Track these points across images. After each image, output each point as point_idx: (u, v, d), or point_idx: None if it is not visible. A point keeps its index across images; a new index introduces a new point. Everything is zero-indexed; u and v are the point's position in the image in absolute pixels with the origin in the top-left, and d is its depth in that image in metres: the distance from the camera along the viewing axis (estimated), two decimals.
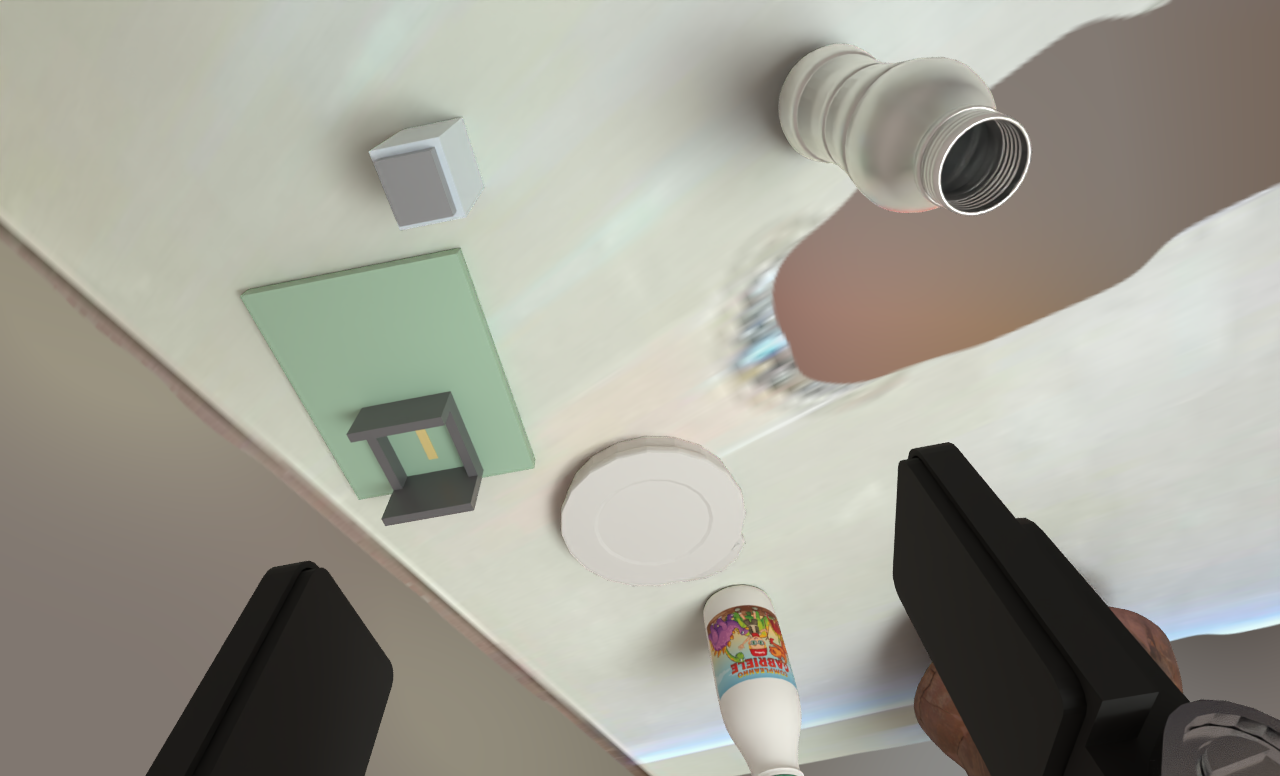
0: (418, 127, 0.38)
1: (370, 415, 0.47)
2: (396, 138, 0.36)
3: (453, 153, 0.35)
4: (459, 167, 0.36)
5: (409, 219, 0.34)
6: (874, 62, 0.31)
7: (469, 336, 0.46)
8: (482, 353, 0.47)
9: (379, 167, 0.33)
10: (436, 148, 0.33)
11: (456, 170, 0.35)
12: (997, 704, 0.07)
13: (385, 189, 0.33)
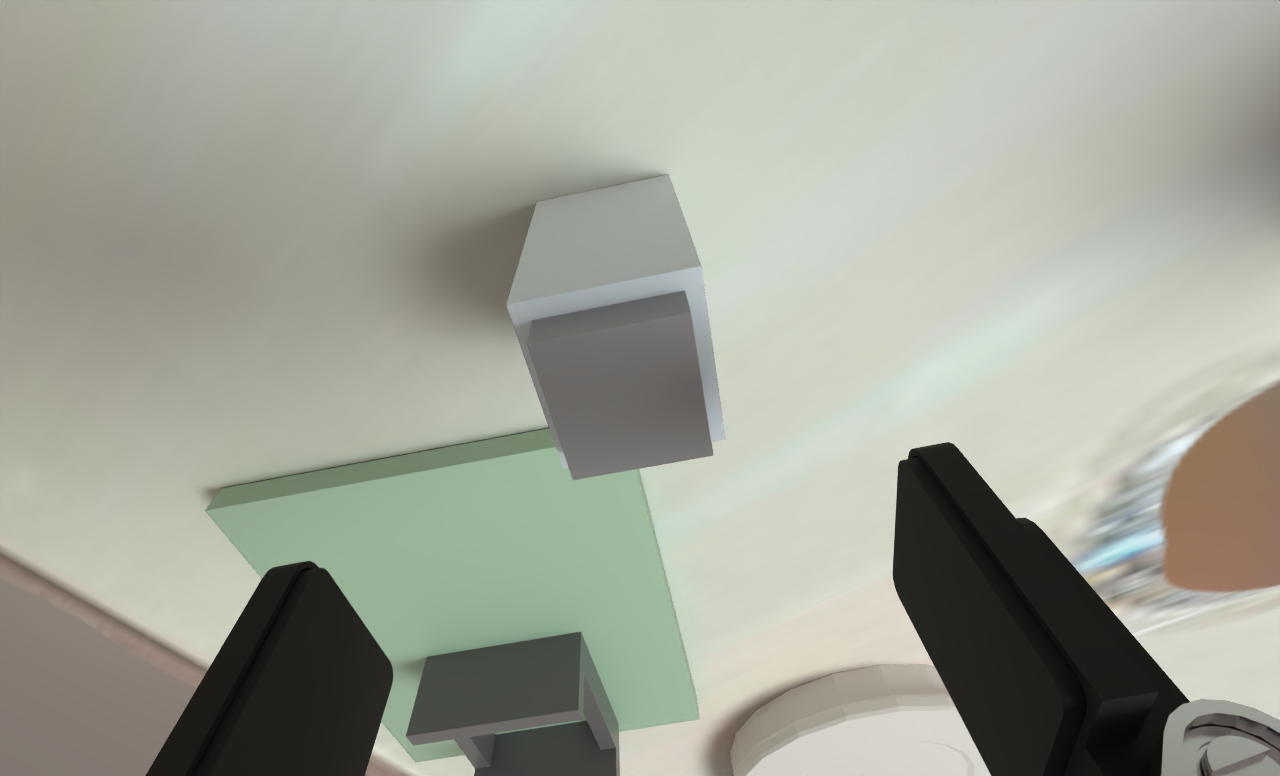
0: (577, 200, 0.17)
1: (444, 683, 0.27)
2: (550, 243, 0.15)
3: None
4: None
5: (601, 465, 0.13)
6: None
7: (627, 558, 0.25)
8: (645, 580, 0.26)
9: (542, 355, 0.12)
10: (689, 294, 0.12)
11: None
12: (998, 704, 0.07)
13: (551, 404, 0.12)
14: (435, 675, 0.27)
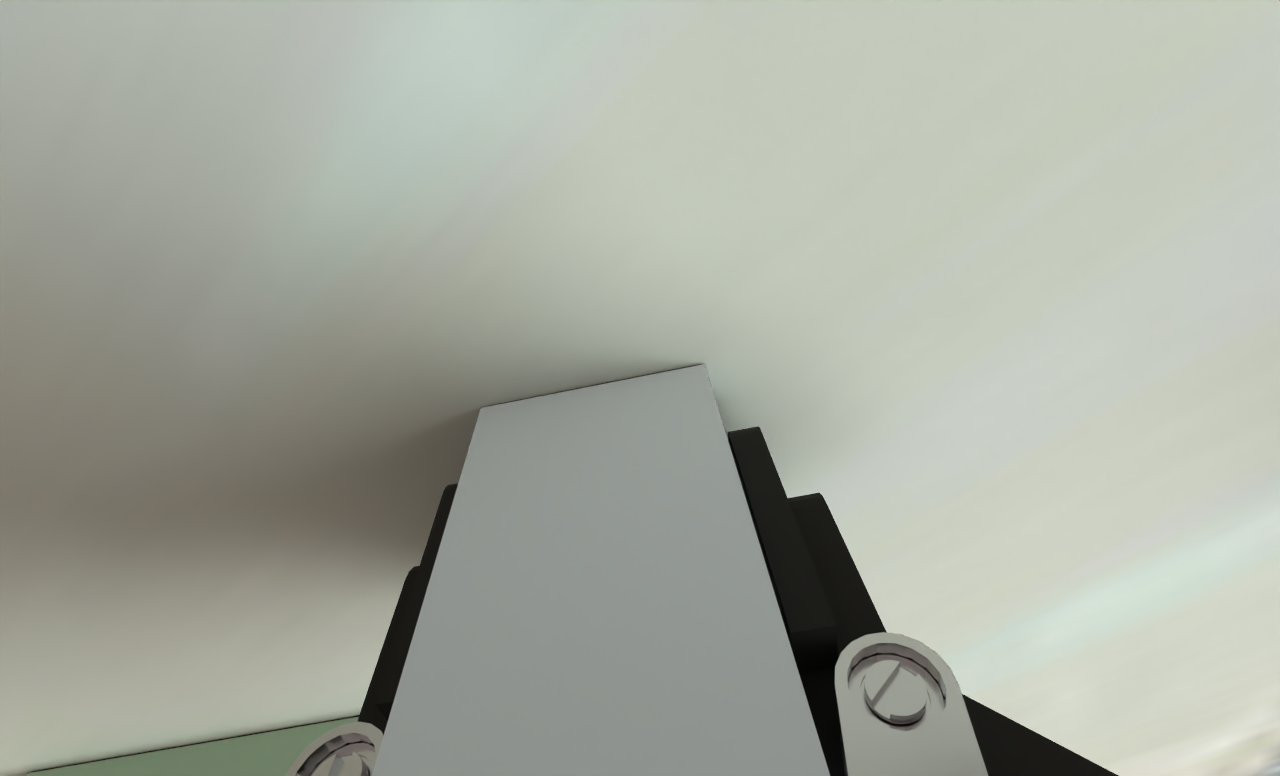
0: (547, 420, 0.10)
1: None
2: (484, 577, 0.07)
3: None
4: None
5: None
6: None
7: None
8: None
9: None
10: None
11: None
12: None
13: None
14: None
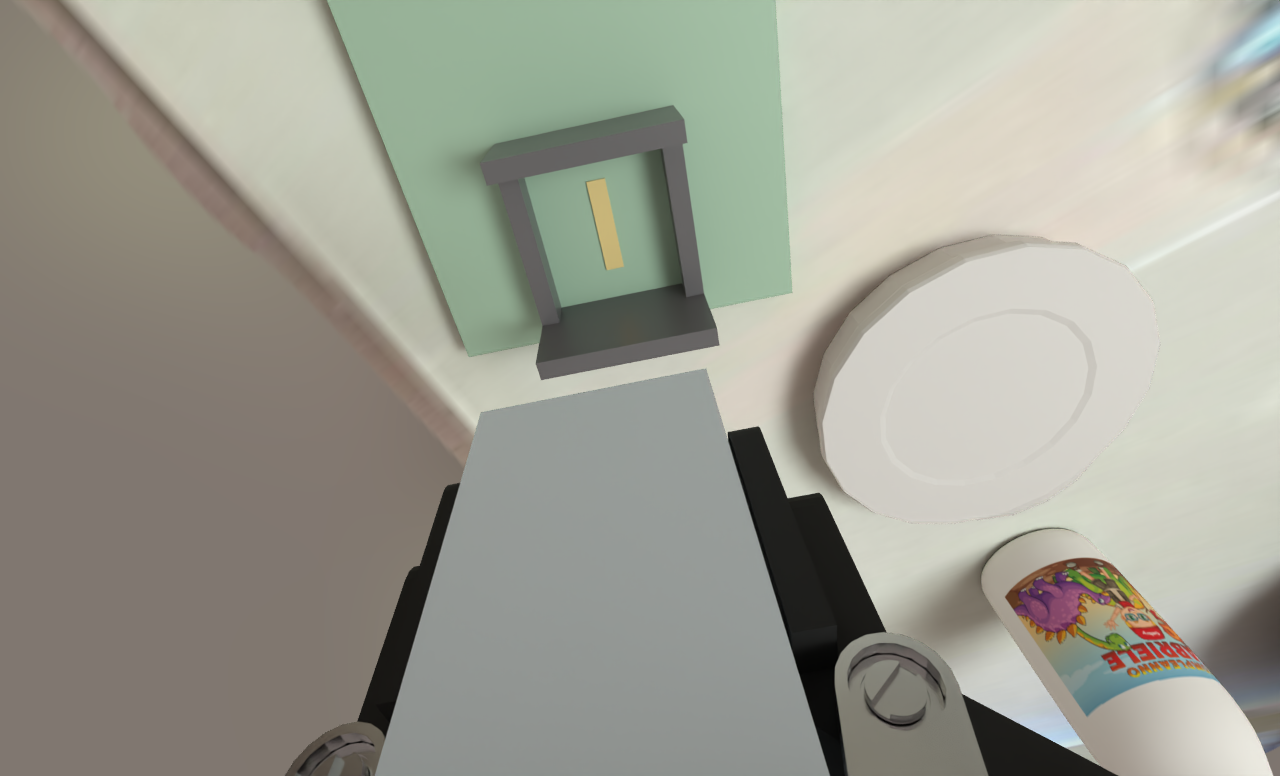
0: (547, 424, 0.10)
1: (519, 144, 0.23)
2: (484, 584, 0.07)
3: None
4: None
5: None
6: None
7: None
8: (754, 4, 0.22)
9: None
10: None
11: None
12: None
13: None
14: (507, 145, 0.24)
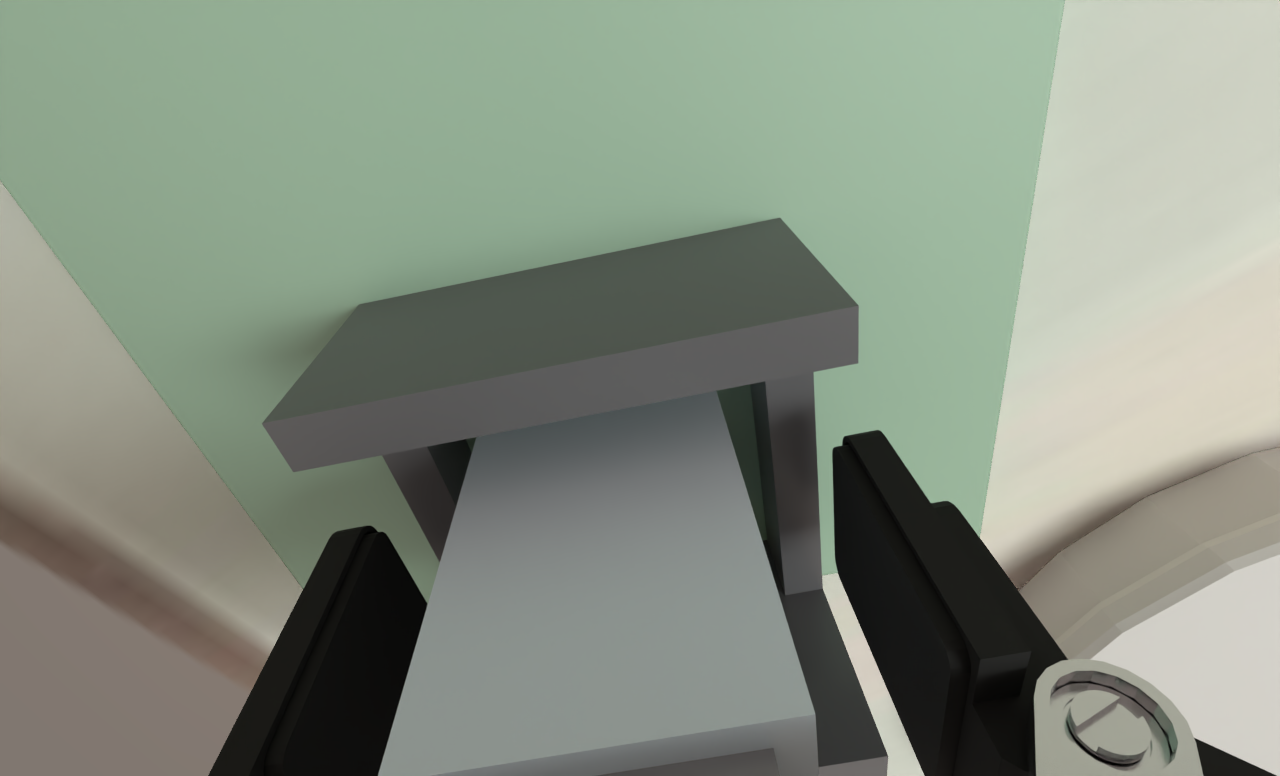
0: None
1: (402, 328, 0.09)
2: (499, 525, 0.08)
3: None
4: None
5: None
6: None
7: None
8: None
9: None
10: (782, 753, 0.06)
11: None
12: (909, 672, 0.08)
13: None
14: (378, 322, 0.10)
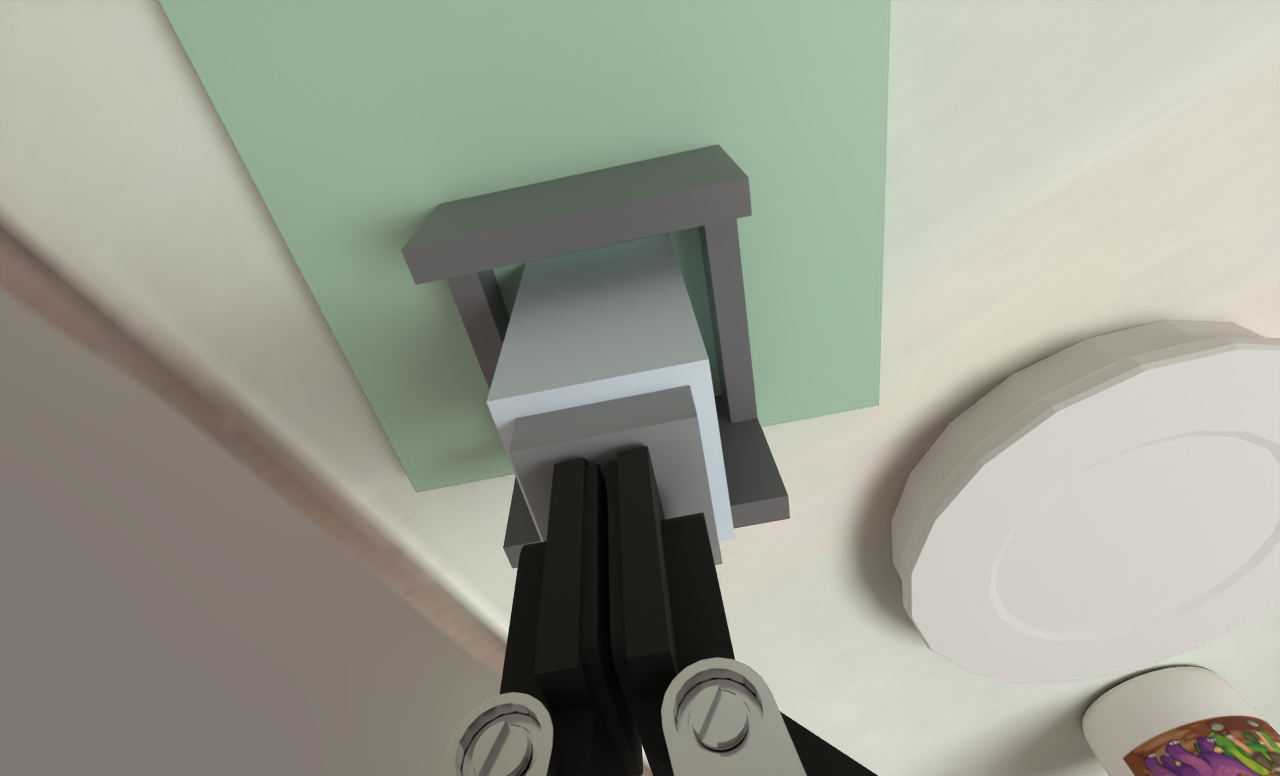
0: (569, 263, 0.16)
1: (473, 210, 0.14)
2: (539, 319, 0.13)
3: None
4: None
5: None
6: None
7: None
8: None
9: (527, 463, 0.10)
10: (694, 389, 0.11)
11: None
12: None
13: (537, 514, 0.11)
14: (456, 209, 0.15)
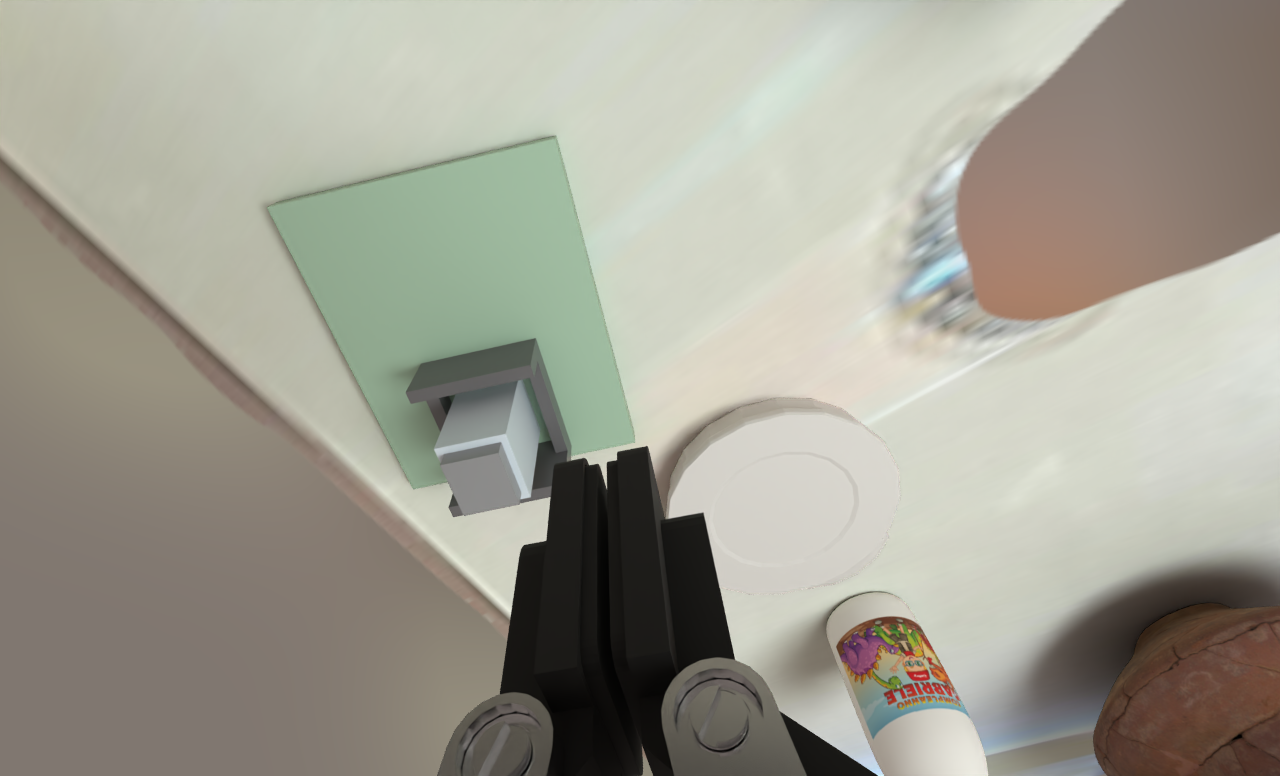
0: None
1: (434, 370, 0.36)
2: (457, 415, 0.35)
3: (516, 433, 0.34)
4: (522, 442, 0.35)
5: (474, 509, 0.33)
6: None
7: (564, 260, 0.35)
8: (579, 283, 0.36)
9: (445, 468, 0.32)
10: (503, 443, 0.32)
11: (520, 450, 0.34)
12: None
13: (451, 486, 0.32)
14: (427, 368, 0.37)
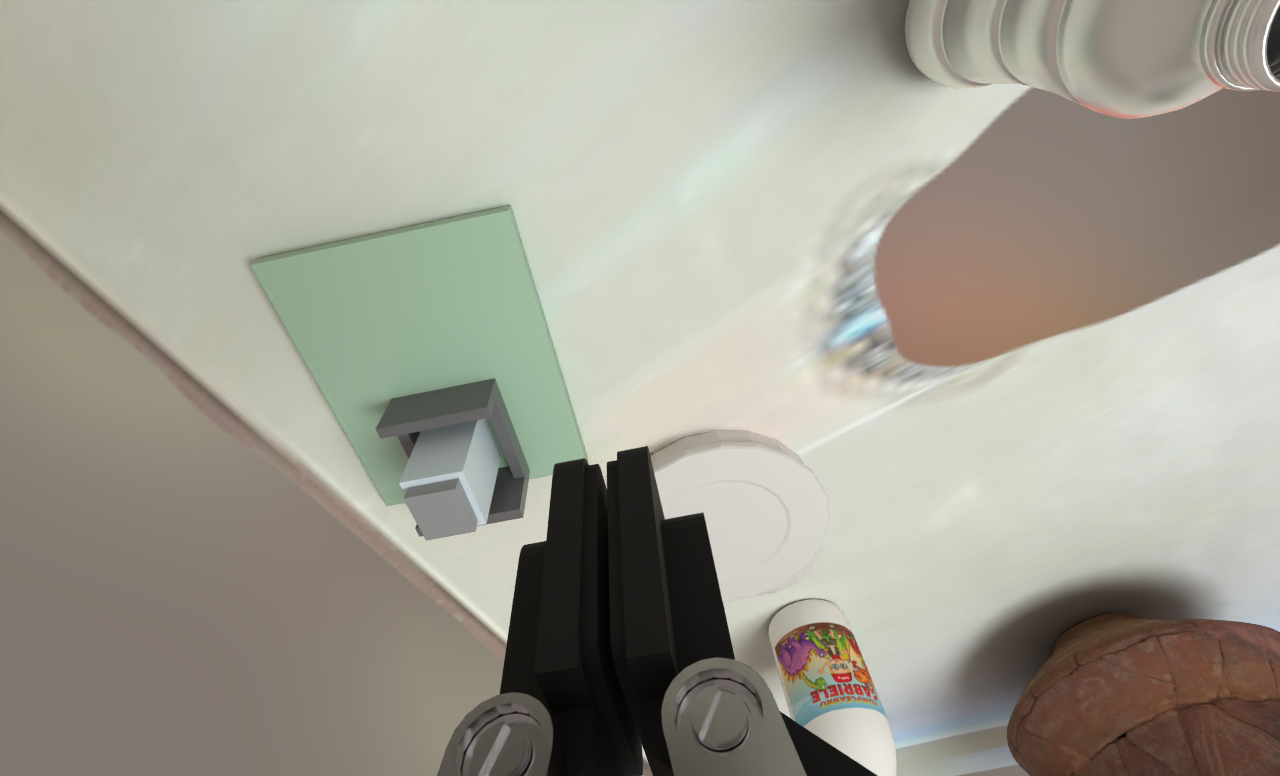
0: None
1: (402, 407, 0.40)
2: (422, 449, 0.39)
3: (474, 467, 0.39)
4: (479, 474, 0.39)
5: (435, 535, 0.38)
6: None
7: (519, 312, 0.39)
8: (533, 332, 0.40)
9: (409, 501, 0.36)
10: (460, 479, 0.37)
11: (477, 482, 0.39)
12: None
13: (414, 516, 0.37)
14: (396, 405, 0.41)
